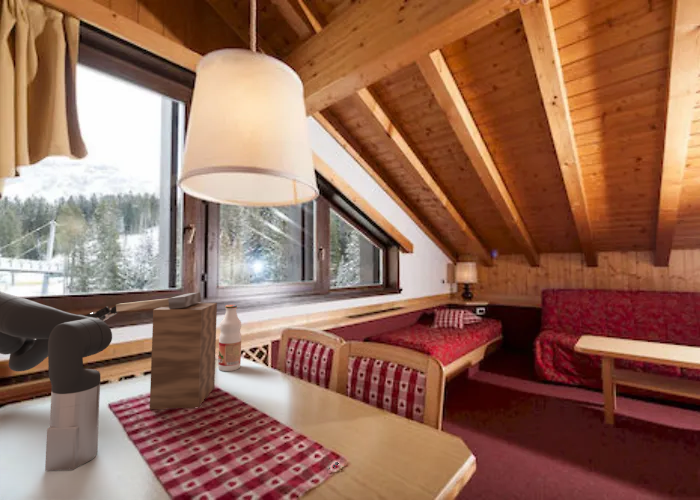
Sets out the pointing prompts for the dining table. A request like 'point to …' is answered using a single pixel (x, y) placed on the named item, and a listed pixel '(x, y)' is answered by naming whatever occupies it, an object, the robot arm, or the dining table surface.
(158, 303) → the scraper
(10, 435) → the dining table surface
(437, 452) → the dining table surface
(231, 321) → the fruit juice
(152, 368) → the stand
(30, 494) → the dining table surface
